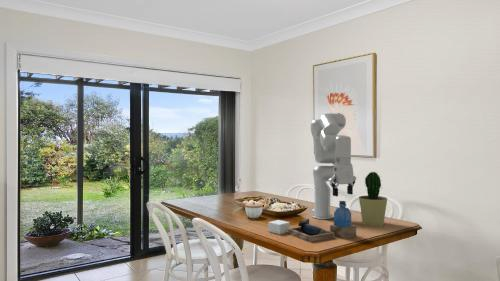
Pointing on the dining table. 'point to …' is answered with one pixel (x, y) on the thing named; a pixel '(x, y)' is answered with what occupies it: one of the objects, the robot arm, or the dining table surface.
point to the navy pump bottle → (309, 228)
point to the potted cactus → (373, 202)
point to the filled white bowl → (253, 209)
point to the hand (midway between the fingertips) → (342, 195)
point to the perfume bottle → (342, 215)
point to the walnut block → (343, 231)
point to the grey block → (278, 226)
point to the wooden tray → (303, 236)
